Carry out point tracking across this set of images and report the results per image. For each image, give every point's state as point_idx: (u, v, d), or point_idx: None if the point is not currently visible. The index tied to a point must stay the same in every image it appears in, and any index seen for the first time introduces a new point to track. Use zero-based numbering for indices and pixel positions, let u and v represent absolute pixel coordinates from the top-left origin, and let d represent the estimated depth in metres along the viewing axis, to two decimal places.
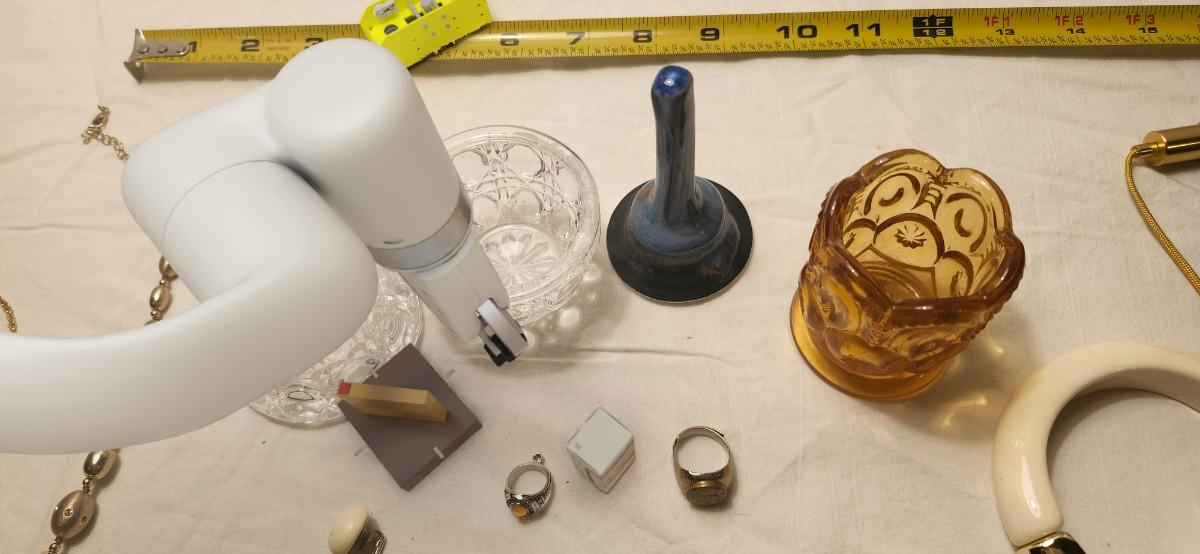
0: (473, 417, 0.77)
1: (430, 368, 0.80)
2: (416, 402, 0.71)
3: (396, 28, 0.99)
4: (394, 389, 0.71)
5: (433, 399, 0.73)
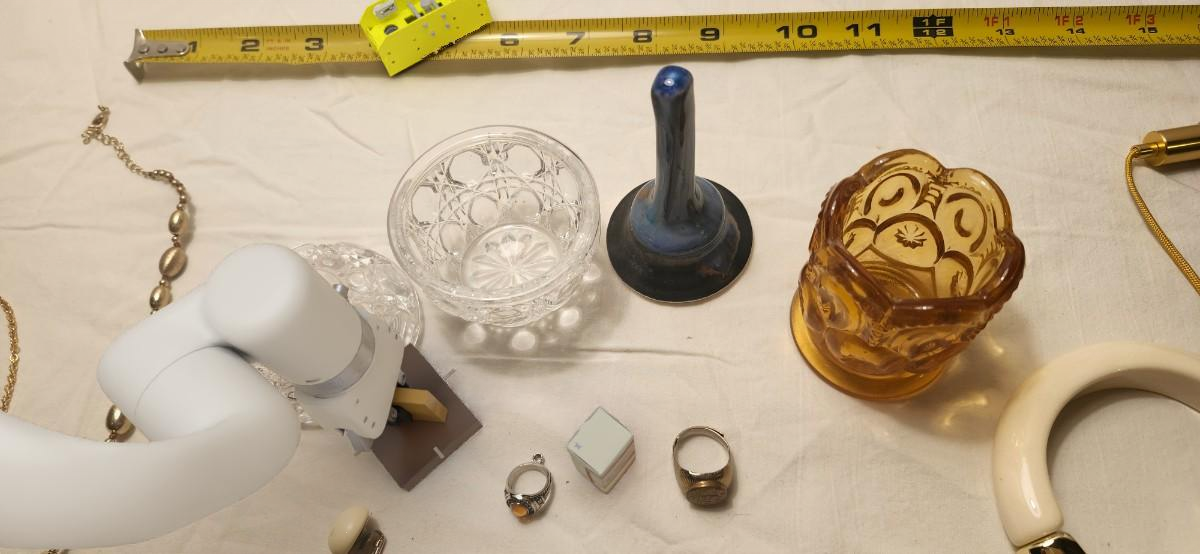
0: (473, 417, 0.77)
1: (430, 368, 0.80)
2: (416, 402, 0.71)
3: (396, 28, 0.99)
4: None
5: (433, 399, 0.73)
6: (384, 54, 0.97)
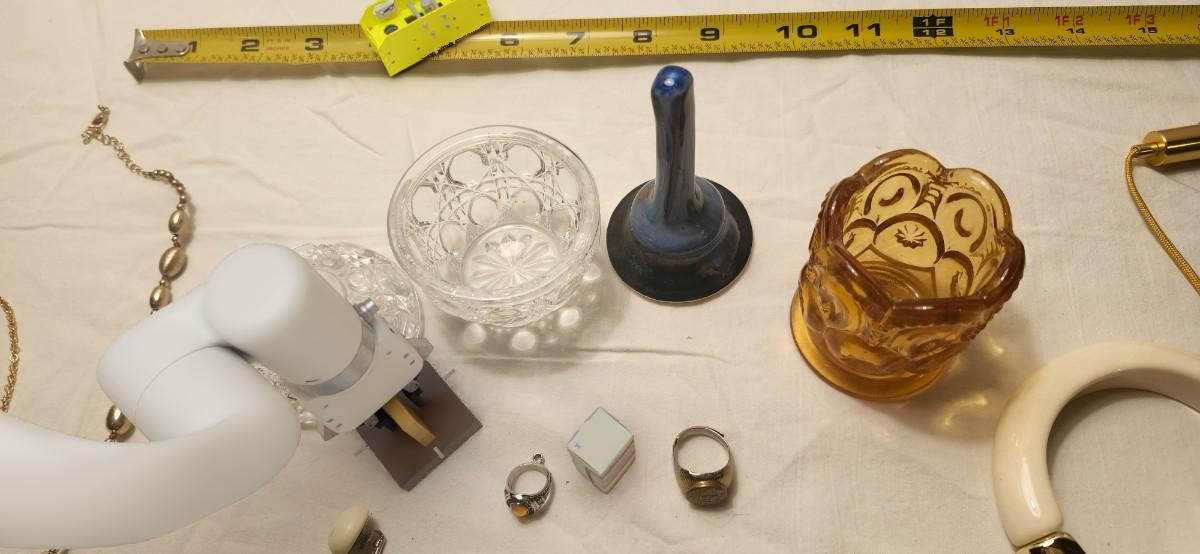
0: (473, 417, 0.77)
1: (430, 368, 0.80)
2: (399, 423, 0.70)
3: (396, 28, 0.99)
4: (392, 397, 0.71)
5: (419, 428, 0.72)
6: (384, 54, 0.97)
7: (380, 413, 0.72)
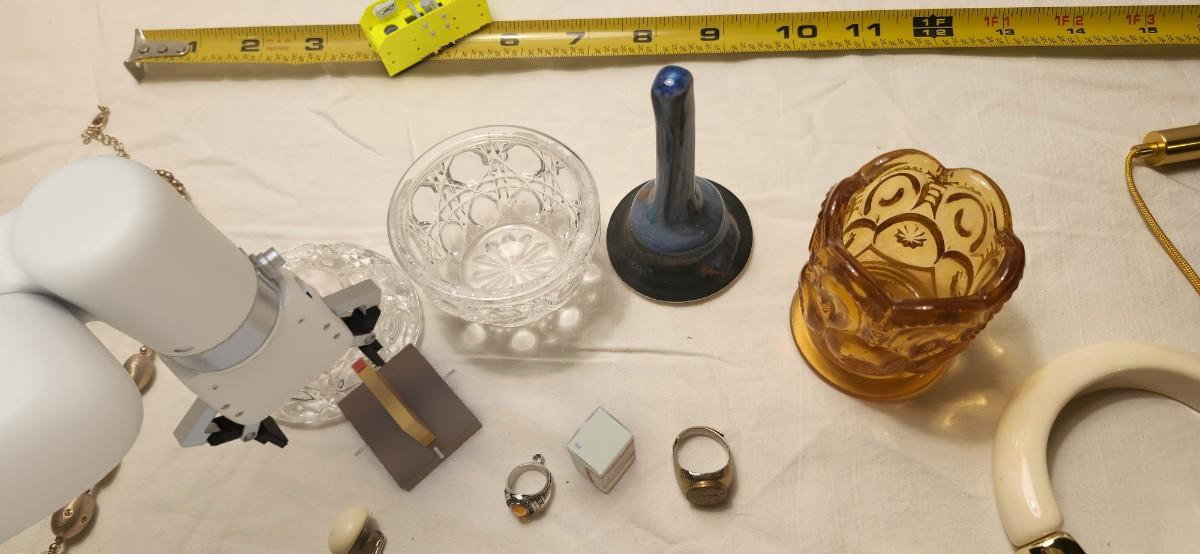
0: (473, 417, 0.77)
1: (430, 368, 0.80)
2: (399, 423, 0.70)
3: (396, 28, 0.99)
4: (392, 397, 0.71)
5: (419, 428, 0.72)
6: (384, 54, 0.97)
7: (261, 424, 0.57)
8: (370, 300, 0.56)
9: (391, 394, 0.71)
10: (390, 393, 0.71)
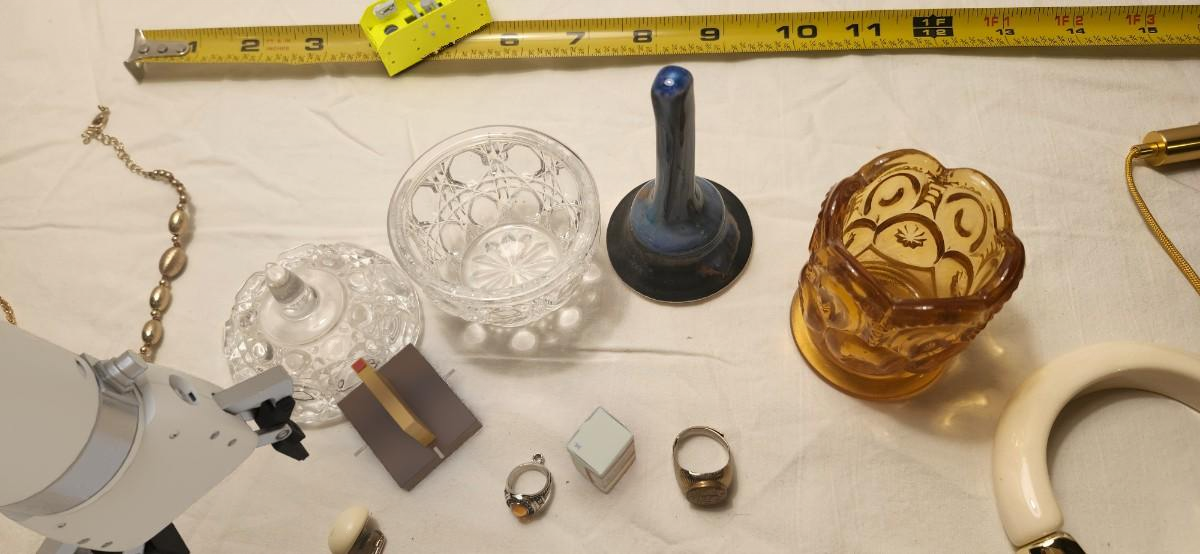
0: (473, 417, 0.77)
1: (430, 368, 0.80)
2: (399, 423, 0.70)
3: (396, 28, 0.99)
4: (392, 397, 0.71)
5: (419, 428, 0.72)
6: (384, 54, 0.97)
7: (149, 541, 0.47)
8: (279, 392, 0.46)
9: (391, 394, 0.71)
10: (390, 393, 0.71)
